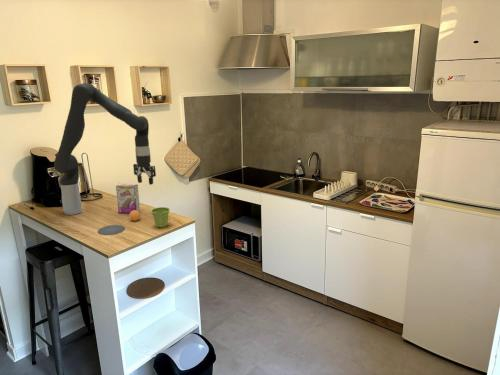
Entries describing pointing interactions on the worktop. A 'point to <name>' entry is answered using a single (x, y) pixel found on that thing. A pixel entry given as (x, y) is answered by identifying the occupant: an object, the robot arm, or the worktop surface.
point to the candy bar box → (127, 198)
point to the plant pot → (160, 216)
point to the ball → (134, 215)
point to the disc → (111, 230)
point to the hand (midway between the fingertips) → (145, 183)
